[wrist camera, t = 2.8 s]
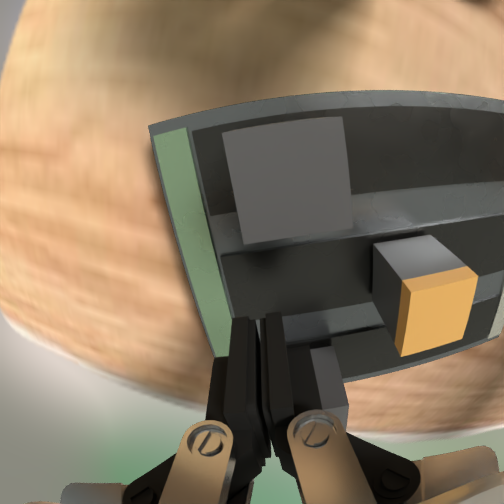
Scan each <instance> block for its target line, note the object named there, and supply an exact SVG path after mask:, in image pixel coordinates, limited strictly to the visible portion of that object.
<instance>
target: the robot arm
mask: <svg viewBox="0 0 504 504" xmlns="http://www.w3.org/2000/svg"><path fill="white" fill-rule="evenodd" d="M265 317H266V318H260V338H259V334H258V329H257V325H256V320H255V319H253V320H250V319H249V316H244V317H236V318H232V325H231V335H230V345H229V356H223V357H215V359H214V362H213V369H212V376H211V383H210V390H209V397H208V404H207V411H206V419H205V421H201V422H198V423H196V424H194V425H192V426H191V427H190V428H189V429H188V430H187V431H186V432H185V434H184V435H183V437H182V440H181V443H180V445H179V448H178V451H177V453H176V454H174V455H173V456H171V457H170V458H168V459H167V460H166V461H164V462H163V463H161V464H160V465H158V466H157V467H155V468H153V469H152V470H151V471H149V472H147V473H146V474H144V475H143V476H141V477H139V478H138V479H136V480H135V481H133V482H132V483H131V484H129V485H123V484H122V483H70V484H69V485H67V486H66V487H65V488H64V489H63V491H62V494H61V501H60V504H250V501H251V496H252V490H253V485H254V478H255V477H256V476H257V475H258V474H260V473H261V472H262V466H265V458H271V442H272V445H273V448H274V452H275V455H276V457H279V459H280V463H281V466H282V469H283V470H284V471H285V472H287V473H288V474H290V475H291V476H293V477H294V478H295V479H296V482H297V486H298V489H299V493H300V496H301V500H302V503H303V504H504V471H503V472H499V466H498V460H497V456H496V454H495V452H494V451H493V450H492V449H491V448H489V447H486V446H476V447H473V448H468V449H464V450H460V451H456V452H451V453H446V454H440V455H435V456H429V457H424V458H423V459H422V460H417V461H410V460H408V459H406V458H403V457H401V456H398V455H396V454H394V453H391V452H388V451H386V450H384V449H382V448H379V447H377V446H375V445H373V444H371V443H368V442H366V441H364V440H362V439H360V438H357V437H355V436H353V435H351V434H349V433H347V432H345V429H344V427H343V425H342V423H341V421H340V420H339V418H338V417H337V416H336V415H334V414H333V413H331V412H328V411H325V410H323V409H322V404H321V399H320V394H319V389H318V385H317V380H316V375H315V370H314V366H313V361H312V356H311V352H310V347H309V345H306V346H300V347H293V348H287V346H286V340H285V333H284V326H283V320H282V313H281V311H279V312H272V313H266V314H265ZM24 504H59V503H53V502H43V501H37V502H28V503H24Z"/></svg>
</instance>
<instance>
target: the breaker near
mask: <svg viewBox="0 0 504 504" xmlns="http://www.w3.org/2000/svg"><path fill="white" fill-rule="evenodd" d="M222 137H223V142H224V147H225V152H226V157H227V162H228V167H229V172H230V177H231V182H232V187H233V192H234V197H235V202H236V207H237V212H238V217H239V222H240V227H241V232H242V237H243V242H244V245H245V244H251V243H258V242H264V241H271V240H278V239H284V238H291V237H298V236H304V235H311V234H318V233H325V232H331V231H338V230H345V229H352V228H353V217H352V202H351V189H350V178H349V167H348V158H347V149H346V141H345V133H344V126H343V119H342V117H323V118H310V119H301V120H293V121H285V122H278V123H271V124H265V125H258V126H252V127H247V128H241V129H235V130H232V131H228V132H224V133H222Z"/></svg>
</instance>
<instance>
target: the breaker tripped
mask: <svg viewBox="0 0 504 504" xmlns="http://www.w3.org/2000/svg"><path fill="white" fill-rule="evenodd" d="M477 280H478V275H477V274H475V273H474V272H473V271H472V270H471V269H470V268H469V267H468V266H467V265H466V264H464V263H463V262H462V261H461V260H460V259H459V258H458V257H456V256H455V255H454V254H453V253H452V252H451V251H450V250H448V249H447V248H446V247H445V246H444V245H442V244H441V243H440V242H439V241H438V240H436V239H435V238H434V237H433V236H431V235H424V236H418V237H412V238H406V239H400V240H393V241H387V242H381V243H374V244H373V290H372V301H373V303H374V305H375V307H376V309H377V311H378V313H379V314H380V316H381V318H382V320H383V322H384V324H385V326H386V328H387V330H388V332H389V334H390V336H391V338H392V340H393V342H394V344H395V346H396V348H397V350H398V352H399V354H400V356H401V357H403V356H407V355H411V354H414V353H418V352H421V351H425V350H428V349H432V348H435V347H438V346H442V345H445V344H448V343H451V342H454V341H457V340H460V339H462V338H463V335H464V331H465V328H466V325H467V321H468V318H469V314H470V310H471V306H472V302H473V298H474V294H475V289H476V285H477Z"/></svg>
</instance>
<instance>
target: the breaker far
mask: <svg viewBox="0 0 504 504" xmlns="http://www.w3.org/2000/svg"><path fill="white" fill-rule="evenodd" d="M310 352H311V356H312V361H313V366H314V370H315V375H316V380H317V385H318V389H319V394H320V399H321V404H322V409H323V410H325V411H328V412H331V413H333V414H334V415H336V416H337V417H338V418H339V420H340V421H341V423H342V425H343V427H344V429H345V432H346V426H347V418H348V409H349V404H348V400H347V395H346V391H345V387H344V384H343V380H342V376H341V372H340V368H339V364H338V361H337V357H336V353H335V349H334V346H328V347H322V348H316V349H310Z"/></svg>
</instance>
